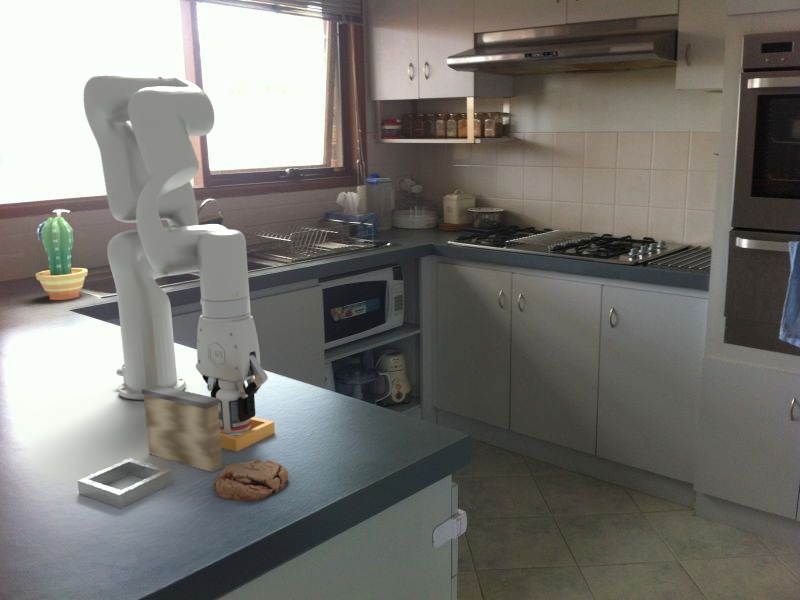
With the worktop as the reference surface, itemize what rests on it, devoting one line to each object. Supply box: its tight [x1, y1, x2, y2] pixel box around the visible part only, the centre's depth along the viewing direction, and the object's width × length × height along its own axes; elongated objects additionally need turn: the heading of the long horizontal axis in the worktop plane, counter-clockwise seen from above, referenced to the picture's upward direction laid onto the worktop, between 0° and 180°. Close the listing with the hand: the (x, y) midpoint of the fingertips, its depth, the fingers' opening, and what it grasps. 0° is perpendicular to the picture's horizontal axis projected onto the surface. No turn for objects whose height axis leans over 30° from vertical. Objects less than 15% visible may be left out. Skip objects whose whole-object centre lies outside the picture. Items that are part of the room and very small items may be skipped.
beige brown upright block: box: [141, 385, 224, 473], centre depth 121 cm, size 14×3×11 cm, turn 57°
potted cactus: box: [35, 216, 88, 301], centre depth 248 cm, size 15×15×25 cm
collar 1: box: [77, 457, 174, 509], centre depth 113 cm, size 9×9×2 cm
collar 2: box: [220, 416, 276, 452], centre depth 131 cm, size 9×9×2 cm
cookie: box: [212, 459, 289, 502], centre depth 113 cm, size 10×11×3 cm
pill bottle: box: [216, 379, 251, 435], centre depth 130 cm, size 5×5×9 cm
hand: (233, 414), depth 131 cm, fingers closed on pill bottle, 5 cm apart
